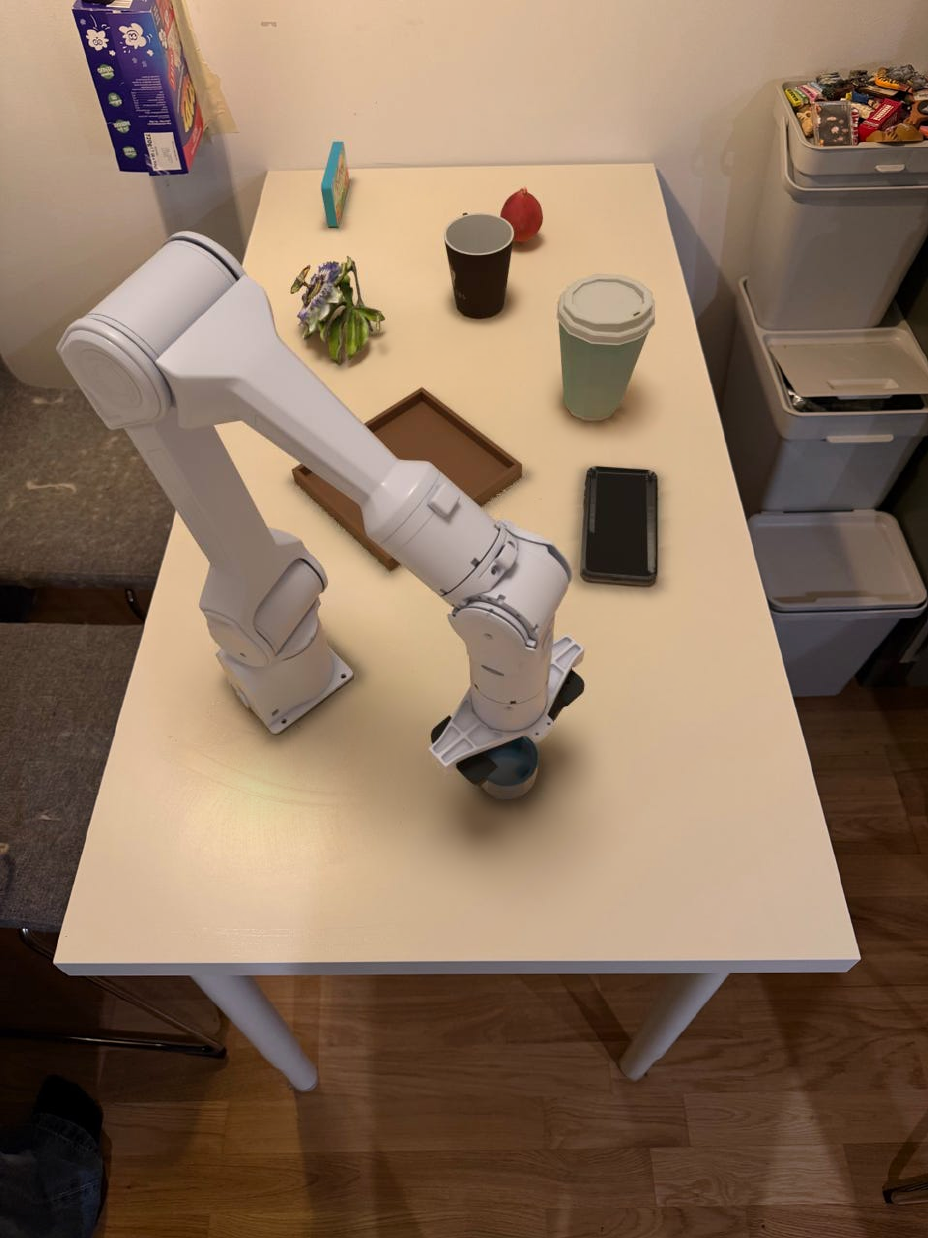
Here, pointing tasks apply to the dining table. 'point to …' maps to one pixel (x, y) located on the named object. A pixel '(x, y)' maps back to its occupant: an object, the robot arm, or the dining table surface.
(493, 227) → the coffee mug
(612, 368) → the disposable coffee cup
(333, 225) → the teal picture box
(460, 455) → the tray
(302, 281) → the passion flower
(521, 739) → the dish
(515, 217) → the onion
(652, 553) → the phone
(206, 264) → the robot arm
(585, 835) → the dining table surface
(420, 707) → the dining table surface
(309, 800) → the dining table surface
